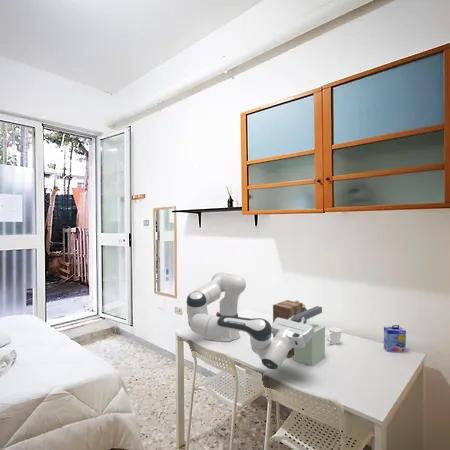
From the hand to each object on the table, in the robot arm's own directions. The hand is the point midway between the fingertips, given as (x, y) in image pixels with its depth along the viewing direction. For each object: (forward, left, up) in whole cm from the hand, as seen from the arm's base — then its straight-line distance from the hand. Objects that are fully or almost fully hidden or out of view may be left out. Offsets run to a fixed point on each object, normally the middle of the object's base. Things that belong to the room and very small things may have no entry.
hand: (299, 317), depth 148 cm
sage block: (+7, +9, -24) cm, 26 cm away
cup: (+25, +29, -24) cm, 45 cm away
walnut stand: (-3, +17, -24) cm, 30 cm away
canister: (+9, +59, -24) cm, 64 cm away
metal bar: (+6, +7, -2) cm, 9 cm away
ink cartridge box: (+56, +22, -24) cm, 65 cm away
